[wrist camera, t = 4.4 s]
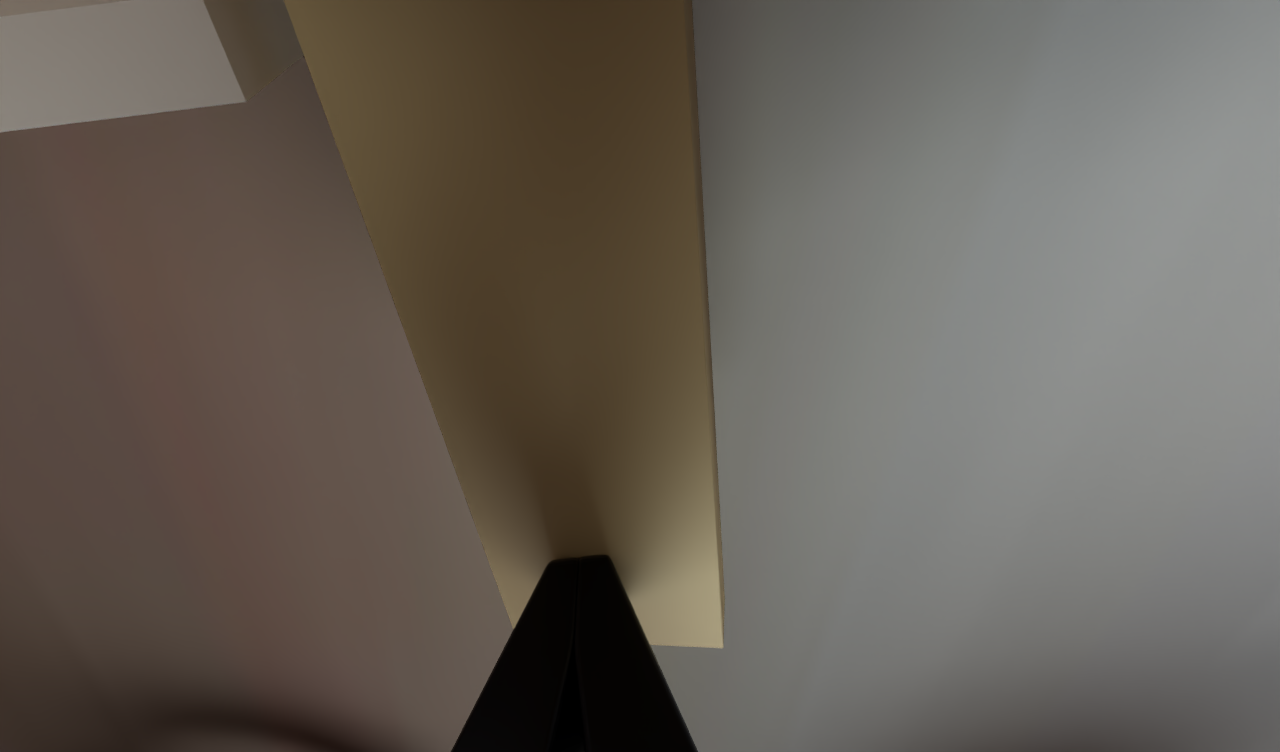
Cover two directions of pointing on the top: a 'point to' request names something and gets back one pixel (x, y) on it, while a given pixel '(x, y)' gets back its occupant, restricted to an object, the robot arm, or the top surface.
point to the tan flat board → (546, 272)
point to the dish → (136, 57)
